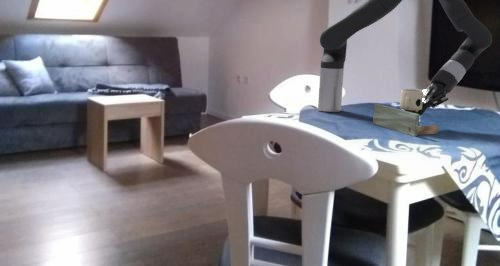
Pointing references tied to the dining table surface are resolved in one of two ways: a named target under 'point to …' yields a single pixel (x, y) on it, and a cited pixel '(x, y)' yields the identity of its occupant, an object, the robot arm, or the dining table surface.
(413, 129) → the oak dock
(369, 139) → the dining table surface
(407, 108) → the character mug
